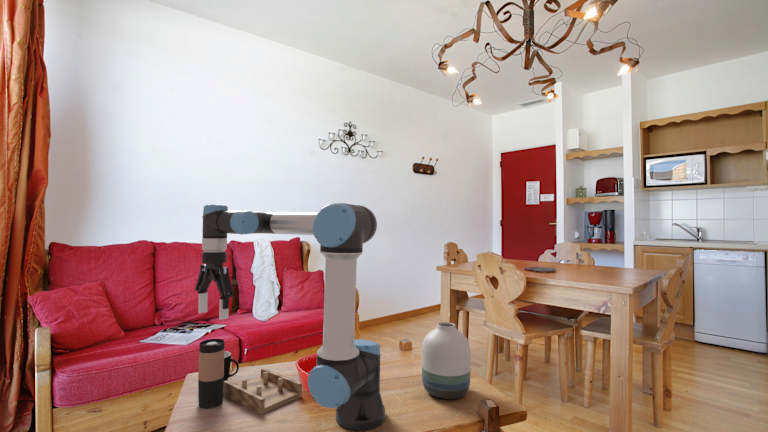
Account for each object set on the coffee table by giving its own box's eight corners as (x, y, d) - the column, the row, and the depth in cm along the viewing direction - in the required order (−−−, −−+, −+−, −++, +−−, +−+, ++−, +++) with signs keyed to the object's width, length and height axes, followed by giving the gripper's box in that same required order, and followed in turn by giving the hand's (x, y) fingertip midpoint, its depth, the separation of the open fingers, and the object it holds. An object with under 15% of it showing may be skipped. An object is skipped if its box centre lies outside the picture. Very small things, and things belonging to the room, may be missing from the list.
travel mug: (198, 400, 125) (200, 339, 126) (223, 396, 128) (225, 337, 129) (196, 410, 118) (197, 346, 119) (222, 407, 121) (224, 344, 122)
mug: (200, 388, 135) (200, 359, 135) (209, 378, 144) (209, 351, 144) (235, 387, 136) (235, 358, 136) (241, 377, 145) (242, 350, 145)
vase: (412, 387, 137) (413, 321, 138) (450, 379, 145) (450, 316, 145) (440, 408, 122) (440, 333, 123) (480, 397, 130) (480, 327, 130)
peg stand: (301, 396, 129) (301, 380, 129) (261, 414, 116) (261, 396, 116) (263, 379, 142) (263, 365, 143) (223, 394, 130) (223, 378, 130)
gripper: (246, 252, 120) (244, 319, 119) (206, 248, 135) (205, 308, 135) (223, 253, 114) (222, 324, 114) (185, 249, 129) (183, 311, 129)
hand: (212, 315), depth 124 cm, fingers open, 13 cm apart
